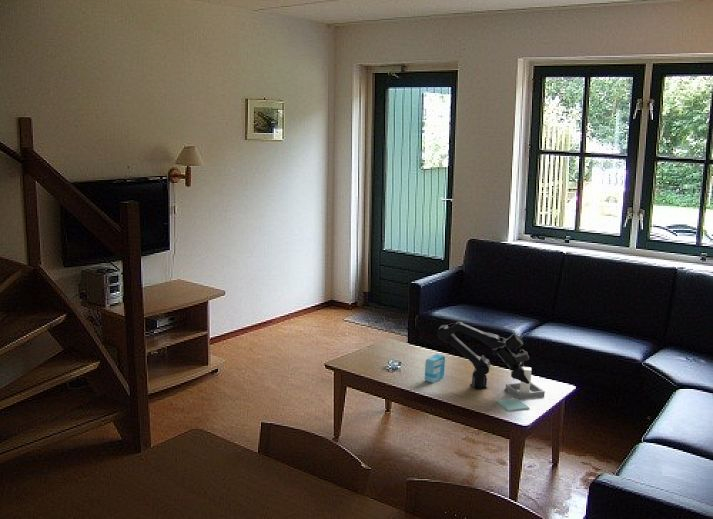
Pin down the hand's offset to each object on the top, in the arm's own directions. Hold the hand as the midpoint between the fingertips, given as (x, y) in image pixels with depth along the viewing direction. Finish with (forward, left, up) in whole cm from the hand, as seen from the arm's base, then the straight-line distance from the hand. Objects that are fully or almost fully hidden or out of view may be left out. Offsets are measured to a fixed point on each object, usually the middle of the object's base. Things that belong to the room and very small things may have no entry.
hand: (528, 380), depth 341 cm
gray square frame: (-1, +1, -7) cm, 7 cm away
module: (-1, +1, -7) cm, 7 cm away
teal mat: (-15, -12, -7) cm, 21 cm away
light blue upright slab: (-38, +27, -7) cm, 47 cm away
